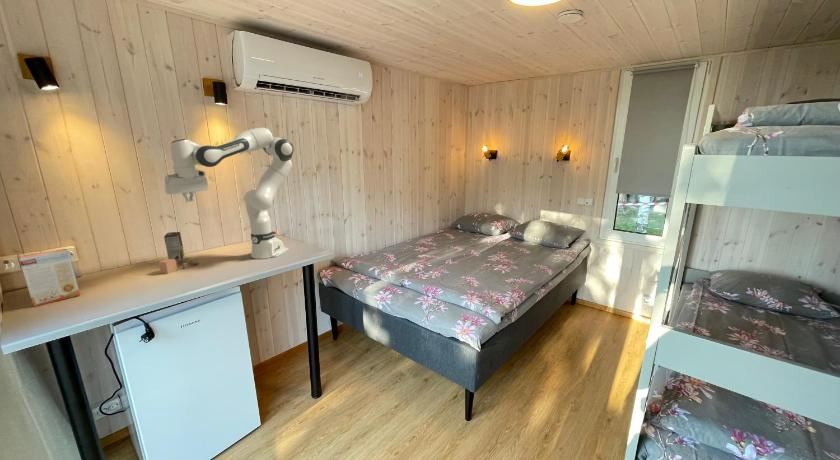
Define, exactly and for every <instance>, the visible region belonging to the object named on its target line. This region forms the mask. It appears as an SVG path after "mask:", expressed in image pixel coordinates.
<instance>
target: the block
mask: <svg viewBox="0 0 840 460" xmlns="http://www.w3.org/2000/svg"><path fill="white" fill-rule="evenodd" d="M158 266H159V270H160V273H161V274H171V273H175V272H177V271H178V267H177V266H176V260H175V259H168V258H167V259H166V258H165V259H163V260H160V261H158Z"/></svg>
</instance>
